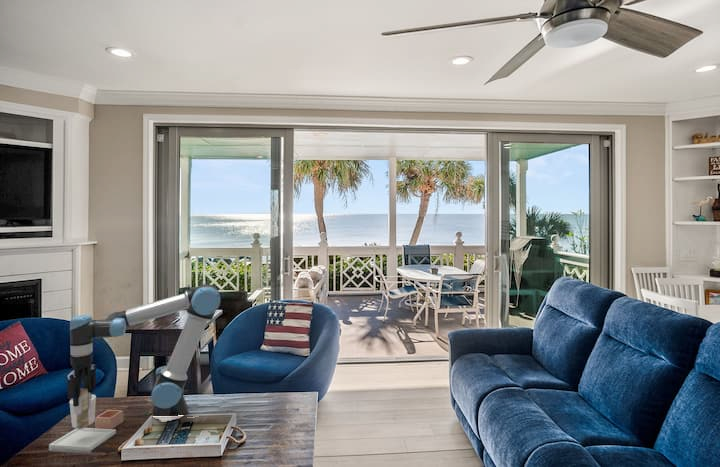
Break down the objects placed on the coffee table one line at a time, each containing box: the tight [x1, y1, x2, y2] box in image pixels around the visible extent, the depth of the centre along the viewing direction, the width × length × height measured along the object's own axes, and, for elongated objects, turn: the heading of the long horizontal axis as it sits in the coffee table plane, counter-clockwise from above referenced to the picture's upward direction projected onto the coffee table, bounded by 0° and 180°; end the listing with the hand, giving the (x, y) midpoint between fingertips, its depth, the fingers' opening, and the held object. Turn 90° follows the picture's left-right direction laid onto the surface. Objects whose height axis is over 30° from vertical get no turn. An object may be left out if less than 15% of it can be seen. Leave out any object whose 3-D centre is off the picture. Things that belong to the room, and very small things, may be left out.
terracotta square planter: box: [94, 409, 125, 429], centre depth 178 cm, size 8×8×6 cm
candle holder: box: [69, 394, 97, 429], centre depth 180 cm, size 10×10×12 cm
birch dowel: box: [76, 387, 90, 429], centre depth 165 cm, size 4×4×15 cm
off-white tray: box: [48, 427, 117, 454], centre depth 165 cm, size 18×14×2 cm
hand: (82, 410), depth 165 cm, fingers closed on birch dowel, 4 cm apart
